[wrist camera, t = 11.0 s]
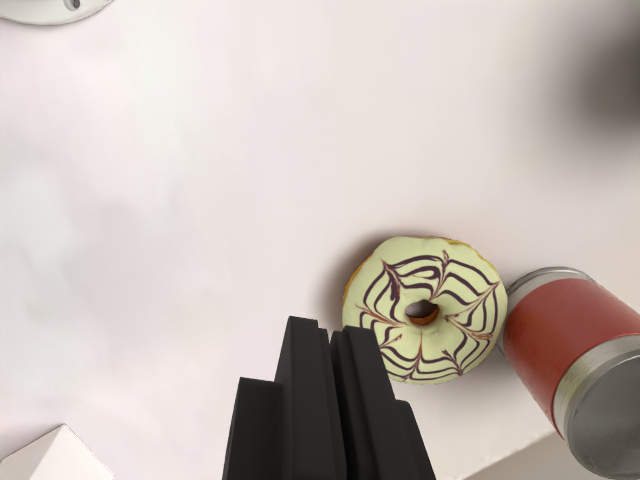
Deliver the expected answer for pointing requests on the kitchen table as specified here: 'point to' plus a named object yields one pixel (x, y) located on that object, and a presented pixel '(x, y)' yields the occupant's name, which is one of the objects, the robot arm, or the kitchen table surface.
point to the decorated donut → (436, 287)
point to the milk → (55, 460)
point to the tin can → (579, 365)
